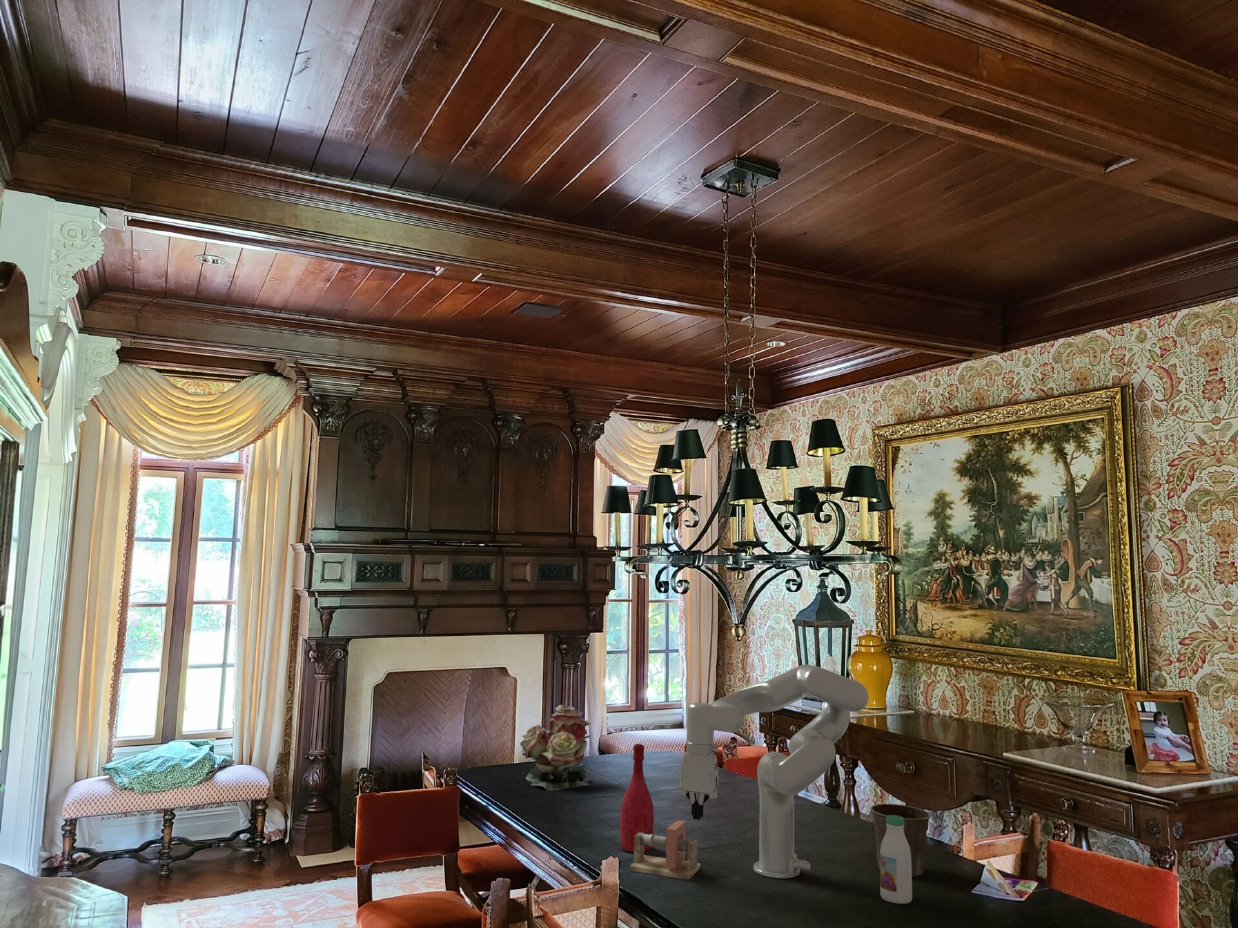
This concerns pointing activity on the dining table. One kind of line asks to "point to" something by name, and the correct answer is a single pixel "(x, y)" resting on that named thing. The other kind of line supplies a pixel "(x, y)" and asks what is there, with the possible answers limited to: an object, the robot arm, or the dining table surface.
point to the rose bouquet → (557, 750)
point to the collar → (675, 844)
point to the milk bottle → (895, 863)
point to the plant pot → (913, 830)
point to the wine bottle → (636, 806)
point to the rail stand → (659, 864)
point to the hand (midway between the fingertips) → (697, 818)
